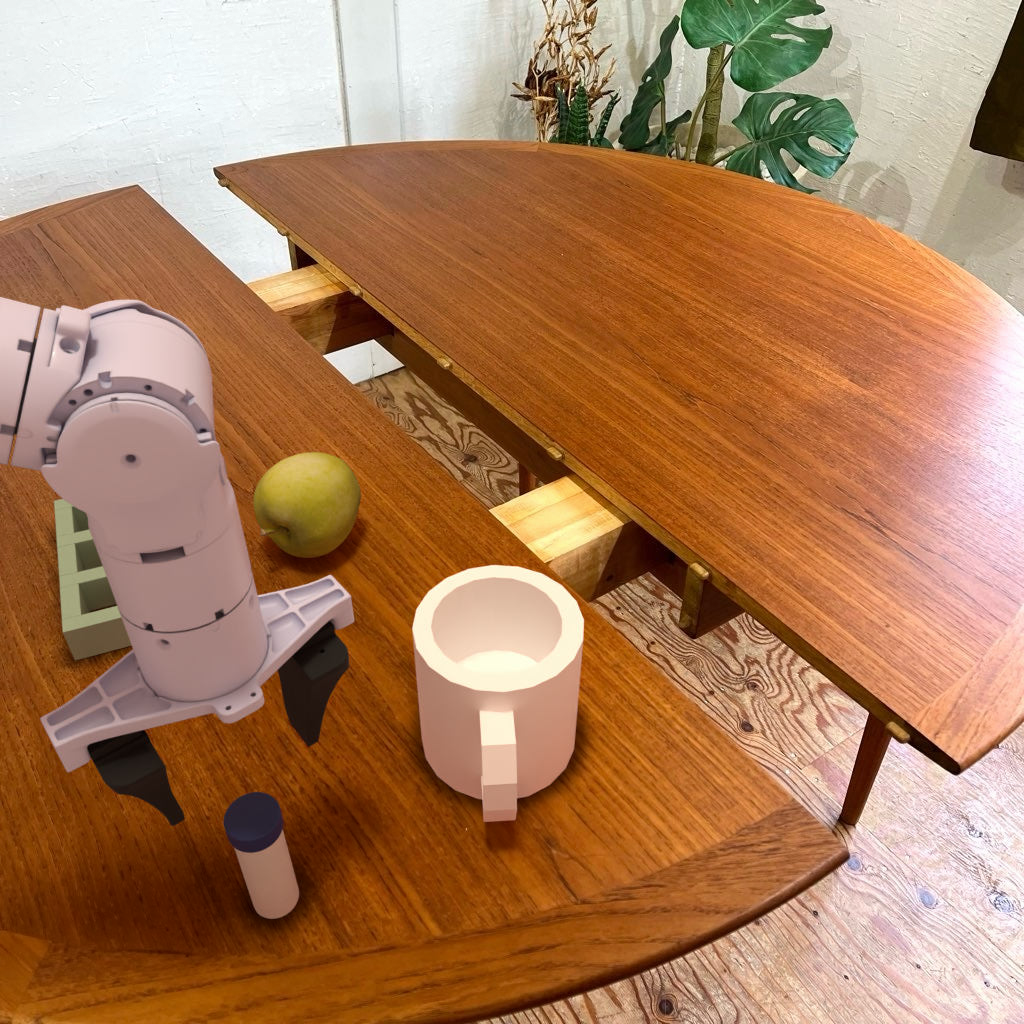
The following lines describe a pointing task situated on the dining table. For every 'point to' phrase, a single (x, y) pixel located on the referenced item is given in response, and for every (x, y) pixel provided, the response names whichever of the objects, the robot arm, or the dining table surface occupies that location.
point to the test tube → (262, 853)
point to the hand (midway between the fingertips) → (240, 769)
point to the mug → (498, 682)
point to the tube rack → (84, 588)
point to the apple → (307, 503)
